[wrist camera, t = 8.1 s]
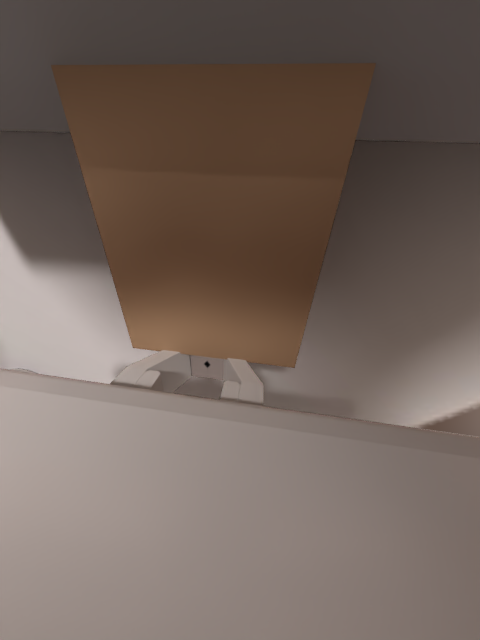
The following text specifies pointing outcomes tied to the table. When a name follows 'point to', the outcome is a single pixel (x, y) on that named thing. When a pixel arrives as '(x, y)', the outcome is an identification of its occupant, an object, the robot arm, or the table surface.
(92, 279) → the table surface
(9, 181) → the table surface
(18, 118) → the grey board
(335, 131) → the walnut block
